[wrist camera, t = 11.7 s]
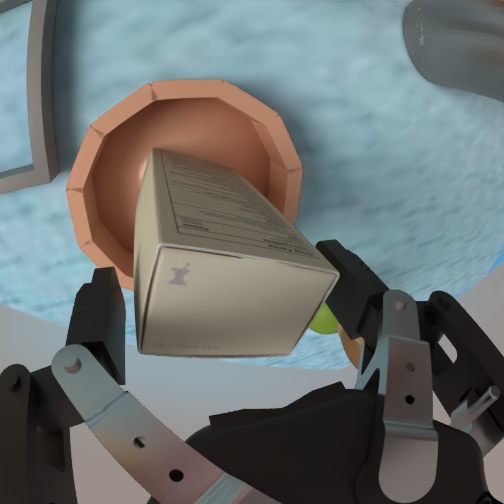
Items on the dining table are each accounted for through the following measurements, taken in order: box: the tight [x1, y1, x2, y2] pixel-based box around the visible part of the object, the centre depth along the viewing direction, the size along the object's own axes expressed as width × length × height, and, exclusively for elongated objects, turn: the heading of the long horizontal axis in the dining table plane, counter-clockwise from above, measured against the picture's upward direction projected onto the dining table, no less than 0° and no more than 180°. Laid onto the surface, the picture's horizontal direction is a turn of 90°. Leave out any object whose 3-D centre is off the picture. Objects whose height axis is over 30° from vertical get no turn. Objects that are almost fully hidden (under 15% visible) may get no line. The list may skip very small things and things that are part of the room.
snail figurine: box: [309, 302, 364, 369], centre depth 23 cm, size 5×6×12 cm
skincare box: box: [134, 148, 340, 358], centre depth 14 cm, size 6×4×12 cm
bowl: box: [66, 79, 303, 291], centre depth 18 cm, size 14×14×4 cm
